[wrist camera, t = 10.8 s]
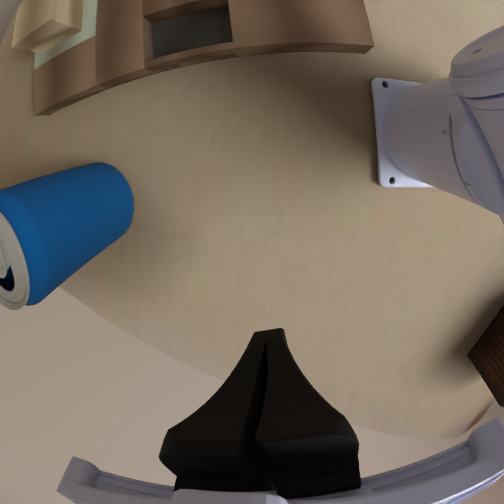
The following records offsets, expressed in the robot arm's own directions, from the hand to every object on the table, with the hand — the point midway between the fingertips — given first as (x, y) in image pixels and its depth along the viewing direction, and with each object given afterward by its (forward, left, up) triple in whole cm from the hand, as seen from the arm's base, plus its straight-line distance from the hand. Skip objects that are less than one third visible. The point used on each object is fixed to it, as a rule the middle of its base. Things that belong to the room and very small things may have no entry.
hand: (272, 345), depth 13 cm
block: (+15, -23, -7) cm, 28 cm away
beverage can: (+13, -6, -10) cm, 17 cm away
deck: (+5, -23, -9) cm, 26 cm away
